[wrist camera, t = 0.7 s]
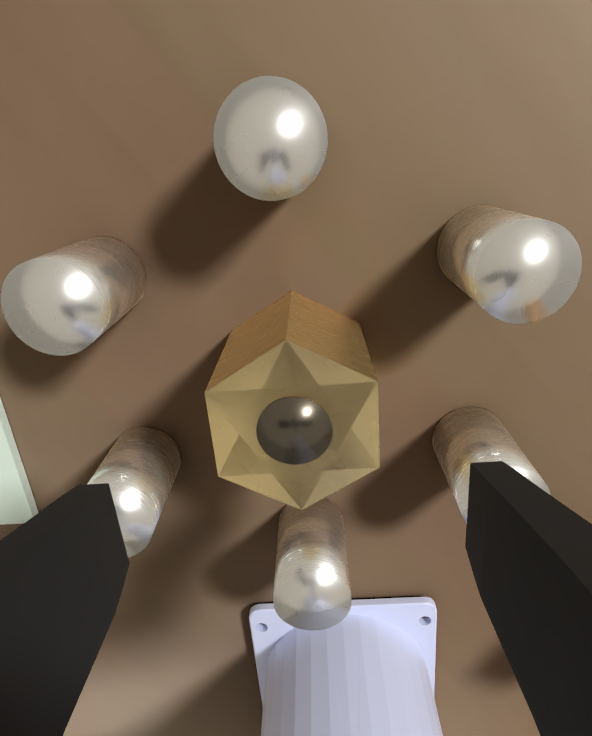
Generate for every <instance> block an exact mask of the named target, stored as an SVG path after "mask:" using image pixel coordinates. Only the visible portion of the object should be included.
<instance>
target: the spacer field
mask: <svg viewBox="0 0 592 736" xmlns="http://www.w3.org/2000/svg"><path fill="white" fill-rule="evenodd" d="M213 140H214V149H215V154H216V157H217V161H218V163H219V165H220V168H221V170H222V171H223V173H224V175H225V176H226V177H227V179H228V180H229V181H230V182H231V183H232V184H233V185H234V186H235V187H236V188H237V189H238V190H240V191H241V192H243V193H244V194H246V195H248V196H250V197H253V198H256V199H259V200H265V201H278V200H284V199H287V198H290V197H293V196H295V195H297V194H298V193H300V192H302V191H303V190H304V189H305V188H307V187H308V186H309V185H310V184H311V183H312V182H313V181H314V179H315V178H316V176H317V175H318V173H319V171H320V170H321V168H322V165H323V163H324V160H325V156H326V152H327V140H328V136H327V127H326V123H325V119H324V117H323V114H322V111H321V109H320V107H319V106H318V104H317V102H316V101H315V100H314V98H313V97H312V96H311V95H310V94H309V93H308V92H307V91H306V90H305V89H304V88H303V87H302V86H300V85H298V84H297V83H295V82H293V81H291V80H289V79H286V78H282V77H277V76H262V77H256V78H253V79H250V80H248V81H246V82H244V83H242V84H241V85H239V86H238V87H236V88H235V89H234V90H233V91H232V92H231V93H230V94H229V95H228V97H227V98H226V99H225V100H224V102H223V104H222V105H221V107H220V109H219V112H218V114H217V117H216V121H215V126H214V135H213ZM437 259H438V263H439V266H440V268H441V270H442V272H443V273H444V274H445V276H446V277H447V278H448V279H450V280H451V281H452V282H453V283H454V284H455V285H457V286H458V287H459V288H460V289H461V290H462V291H464V292H465V293H466V294H467V295H468V296H469V297H471V298H472V299H473V300H474V301H475V302H476V303H478V304H479V305H480V306H481V307H482V308H483V309H485V310H486V311H487V312H488V313H489V314H491V315H492V316H493V317H495V318H497V319H499V320H501V321H504V322H508V323H514V324H525V323H531V322H535V321H538V320H541V319H544V318H546V317H548V316H550V315H551V314H553V313H554V312H556V311H557V310H558V309H559V308H561V307H562V306H563V305H564V304H565V303H566V302H567V300H568V299H569V298H570V296H571V295H572V293H573V292H574V290H575V288H576V286H577V284H578V281H579V278H580V274H581V268H582V258H581V252H580V248H579V246H578V243H577V242H576V240H575V238H574V237H573V236H572V234H571V233H570V232H569V231H568V230H567V229H565V228H564V227H562V226H561V225H559V224H557V223H555V222H552V221H548V220H544V219H540V218H536V217H533V216H529V215H525V214H521V213H517V212H513V211H509V210H506V209H502V208H498V207H494V206H489V205H477V206H472V207H469V208H466V209H464V210H462V211H461V212H459V213H457V214H456V215H455V216H453V217H452V218H451V219H450V220H449V222H448V223H447V224H446V225H445V227H444V228H443V230H442V232H441V234H440V237H439V239H438V244H437ZM145 289H146V272H145V268H144V265H143V263H142V261H141V259H140V258H139V256H138V255H137V253H136V252H135V251H134V250H133V249H132V248H131V247H130V246H129V245H127V244H126V243H124V242H122V241H121V240H118V239H116V238H113V237H109V236H95V237H91V238H88V239H85V240H82V241H79V242H77V243H74V244H71V245H69V246H66V247H63V248H60V249H58V250H55V251H52V252H49V253H47V254H44V255H41V256H39V257H36V258H33V259H30V260H28V261H25V262H23V263H21V264H19V265H18V266H16V267H15V268H14V269H13V270H11V271H10V273H9V274H8V275H7V277H6V279H5V281H4V283H3V286H2V290H1V307H2V311H3V314H4V317H5V319H6V321H7V323H8V325H9V327H10V328H11V330H12V331H13V332H14V333H15V334H16V336H17V337H18V338H19V339H21V340H22V341H23V342H24V343H25V344H27V345H28V346H30V347H31V348H33V349H35V350H37V351H40V352H42V353H45V354H50V355H56V356H65V355H71V354H75V353H78V352H80V351H82V350H84V349H85V348H87V347H88V346H89V345H90V344H91V343H92V342H94V341H95V340H96V339H97V338H98V337H99V336H101V335H102V334H103V333H104V332H105V331H106V330H108V329H109V328H110V327H111V326H112V325H113V324H115V323H116V322H117V321H118V320H119V319H120V318H122V317H123V316H124V315H125V314H126V313H127V312H128V311H130V310H131V309H132V308H133V307H134V306H135V305H137V304H138V302H139V301H140V300H141V298H142V297H143V295H144V292H145ZM432 445H433V449H434V451H435V453H436V456H437V458H438V460H439V463H440V465H441V467H442V470H443V472H444V474H445V476H446V479H447V481H448V483H449V486H450V488H451V490H452V493H453V495H454V497H455V499H456V502H457V504H458V506H459V509H460V511H461V513H462V516H463V518H464V520H465V522H466V524H467V511H468V494H469V477H470V463H476V462H494V461H503V462H504V463H506V464H507V465H509V466H510V467H512V468H513V469H515V470H516V471H518V472H519V473H520V474H522V475H523V476H525V477H526V478H527V479H529V480H530V481H531V482H533V483H534V484H536V485H537V486H538V487H540V488H541V489H542V490H544V491H545V492H547V493H548V494H549V495H550V491H549V489H548V487H547V485H546V483H545V482H544V481H543V479H542V478H541V477H540V475H539V474H538V472H537V471H536V470H535V468H534V467H533V466H532V464H531V463H530V462H529V460H528V459H527V457H526V456H525V455H524V453H523V452H522V451H521V449H520V448H519V447H518V445H517V444H516V442H515V441H514V440H513V438H512V437H511V436H510V434H509V433H508V432H507V430H506V429H505V427H504V426H503V425H502V423H501V422H500V421H499V419H498V418H497V417H496V416H495V415H494V414H493V413H492V412H490V411H488V410H486V409H484V408H480V407H463V408H459V409H456V410H454V411H452V412H450V413H448V414H447V415H446V416H444V417H443V418H442V419H441V420H440V421H439V423H438V424H437V426H436V427H435V430H434V432H433V436H432ZM180 465H181V454H180V450H179V448H178V446H177V444H176V443H175V442H174V440H173V439H172V438H171V437H170V436H168V435H167V434H165V433H164V432H162V431H160V430H158V429H155V428H150V427H136V428H132V429H130V430H127V431H126V432H124V433H123V434H121V436H120V437H119V438H118V439H117V441H116V442H115V444H114V445H113V447H112V448H111V449H110V451H109V452H108V454H107V455H106V457H105V458H104V460H103V461H102V463H101V464H100V466H99V467H98V469H97V470H96V472H95V473H94V475H93V476H92V478H91V479H90V481H89V482H88V484H103V483H109V486H110V490H111V494H112V498H113V502H114V505H115V509H116V513H117V517H118V521H119V525H120V528H121V532H122V536H123V540H124V544H125V548H126V551H127V555H128V557H131V556H134V555H136V554H138V553H140V552H141V551H142V550H143V549H144V548H145V547H146V546H147V545H148V543H149V541H150V539H151V537H152V534H153V532H154V529H155V527H156V524H157V522H158V520H159V517H160V515H161V512H162V510H163V507H164V505H165V503H166V500H167V498H168V495H169V493H170V490H171V488H172V485H173V483H174V481H175V478H176V476H177V473H178V471H179V468H180ZM351 602H352V600H351V590H350V580H349V570H348V560H347V550H346V540H345V530H344V520H343V515H342V513H341V511H340V509H339V508H338V507H337V505H336V504H334V503H333V502H332V501H330V500H328V499H326V498H323V499H321V500H319V501H318V502H316V503H314V504H312V505H310V506H308V507H307V508H305V509H303V510H300V509H298V508H295V507H293V506H290V505H288V504H287V505H286V506H285V507H284V508H283V510H282V512H281V514H280V518H279V529H278V542H277V555H276V568H275V581H274V594H273V605H274V609H275V611H276V613H277V614H278V616H279V617H280V618H281V619H282V620H283V621H284V622H286V623H287V624H289V625H291V626H293V627H295V628H299V629H303V630H323V629H327V628H330V627H332V626H334V625H336V624H338V623H339V622H341V621H342V620H343V619H344V618H345V617H346V616H347V614H348V613H349V611H350V608H351Z"/></svg>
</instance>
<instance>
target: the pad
mask: <svg viewBox="0 0 592 736" xmlns="http://www.w3.org/2000/svg"><path fill="white" fill-rule="evenodd" d="M38 513H39V512H38V509H37V506H36V503H35V500H34V497H33V494H32V491H31V488H30V485H29V482H28V479H27V476H26V473H25V470H24V467H23V464H22V461H21V458H20V455H19V452H18V449H17V446H16V443H15V440H14V437H13V434H12V431H11V428H10V425H9V422H8V419H7V416H6V413H5V410H4V407H3V404H2V401H1V398H0V525H3V524H22V523H25V522H27V521H28V520H29V519H31V518H32V517H34V516H35V515H36V514H38Z"/></svg>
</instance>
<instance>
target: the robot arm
mask: <svg viewBox="0 0 592 736" xmlns="http://www.w3.org/2000/svg"><path fill="white" fill-rule="evenodd" d="M466 550H467V553H468V557H469V560H470V564H471V567H472V571H473V574H474V577H475V580H476V584H477V587H478V590H479V593H480V596H481V598H482V601H483V603H484V606H485V608H486V610H487V613H488V615H489V617H490V619H491V622H492V624H493V626H494V629H495V631H496V633H497V636H498V638H499V640H500V642H501V645H502V647H503V649H504V652H505V654H506V656H507V658H508V661H509V663H510V665H511V667H512V670H513V672H514V674H515V676H516V679H517V681H518V683H519V686H520V688H521V690H522V692H523V695H524V697H525V699H526V701H527V704H528V706H529V708H530V710H531V713H532V715H533V718H534V720H535V723H536V725H537V728H538V730H539V733H540V735H541V736H592V524H591V523H589V522H588V521H586V520H585V519H583V518H582V517H580V516H579V515H578V514H576V513H575V512H573V511H572V510H570V509H569V508H568V507H566V506H565V505H563V504H562V503H561V502H559V501H558V500H556V499H555V498H554V497H552V496H551V495H549V494H548V493H547V492H545V491H544V490H542V489H541V488H540V487H538V486H537V485H536V484H534V483H533V482H531V481H530V480H529V479H527V478H526V477H525V476H523V475H522V474H520V473H519V472H518V471H516V470H515V469H513V468H512V467H510V466H509V465H507V464H506V463H504V462H503V461H494V462H476V463H470V477H469V494H468V511H467V528H466ZM128 566H129V559H128V555H127V551H126V548H125V544H124V540H123V536H122V532H121V528H120V525H119V521H118V517H117V513H116V509H115V505H114V502H113V498H112V494H111V490H110V486H109V483H103V484H86V485H78V486H77V487H75V488H73V489H72V490H70V491H69V492H67V493H66V494H64V495H63V496H61V497H60V498H58V499H57V500H56V501H54V502H53V503H51V504H50V505H49V506H47V507H46V508H44V509H43V510H42V511H40V512H39V513H38V514H36V515H35V516H34V517H32V518H31V519H29V520H28V521H27V522H25V523H24V524H23V525H21V526H20V527H18V528H17V529H16V530H14V531H13V532H12V533H10V534H9V535H7V536H6V537H5V538H3V539H2V540H1V541H0V736H63V733H64V731H65V728H66V726H67V724H68V722H69V719H70V717H71V715H72V712H73V710H74V708H75V705H76V703H77V701H78V698H79V696H80V694H81V691H82V689H83V687H84V685H85V682H86V680H87V678H88V675H89V673H90V671H91V668H92V666H93V664H94V661H95V659H96V657H97V654H98V652H99V650H100V647H101V645H102V643H103V640H104V638H105V636H106V633H107V631H108V629H109V626H110V624H111V621H112V619H113V616H114V614H115V612H116V608H117V605H118V602H119V598H120V595H121V592H122V588H123V585H124V581H125V577H126V573H127V570H128ZM424 616H426V617H424ZM421 617H424V618H421ZM249 622H250V629H251V635H252V642H253V648H254V654H255V661H256V667H257V674H258V680H259V686H260V693H261V699H262V706H263V714H262V727H261V736H443V734H442V730H441V726H440V722H439V717H438V713H437V709H436V704H435V700H434V683H435V652H436V622H437V609H436V605H435V602H434V601H433V600H432V599H431V598H429V597H405V598H383V599H360V600H352V602H351V608H350V611H349V613H348V614H347V616H346V617H345V618H344V619H343V620H342V621H341V622H339V623H338V624H336V625H334V626H332V627H330V628H327V629H323V630H303V629H299V628H295V627H293V626H291V625H289V624H287V623H286V622H284V621H283V620H282V619H281V618H280V617H279V616H278V614H277V613H276V611H275V609H274V605H273V603H269V604H257V605H254V606H253V607H252V608H251V609H250V614H249ZM260 623H263V624H260Z"/></svg>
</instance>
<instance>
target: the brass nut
mask: <svg viewBox="0 0 592 736" xmlns="http://www.w3.org/2000/svg"><path fill="white" fill-rule="evenodd" d="M205 399H206V405H207V411H208V417H209V423H210V429H211V436H212V442H213V448H214V454H215V460H216V466H217V472H218V477H221V478H223V479H226V480H228V481H231V482H233V483H236V484H238V485H240V486H243V487H245V488H248V489H250V490H253V491H255V492H258V493H260V494H263V495H265V496H268V497H270V498H273V499H275V500H278V501H280V502H283V503H285V504H288V505H290V506H293V507H295V508H298V509H300V510H303V509H305V508H307V507H308V506H310V505H312V504H314V503H316V502H318V501H319V500H321V499H323V498H325V497H327V496H328V495H330V494H332V493H334V492H336V491H338V490H339V489H341V488H343V487H345V486H347V485H348V484H350V483H352V482H354V481H356V480H358V479H359V478H361V477H363V476H365V475H367V474H368V473H370V472H372V471H374V470H376V469H378V468H379V467H380V462H379V415H378V381H377V377H376V374H375V371H374V368H373V365H372V362H371V358H370V355H369V352H368V349H367V346H366V343H365V340H364V336H363V333H362V330H361V327H360V324H359V322H358V321H356V320H353V319H351V318H349V317H347V316H345V315H343V314H341V313H339V312H336V311H334V310H332V309H330V308H328V307H326V306H324V305H322V304H319V303H317V302H315V301H313V300H311V299H309V298H307V297H305V296H302V295H300V294H298V293H296V292H294V291H290V292H289V293H287V294H286V295H284V296H283V297H281V298H280V299H278V300H277V301H275V302H274V303H272V304H271V305H269V306H268V307H266V308H265V309H263V310H262V311H260V312H259V313H257V314H256V315H254V316H253V317H252V318H250V319H249V320H247V321H246V322H244V323H243V324H241V325H240V326H238V327H237V328H235V329H234V330H232V331H231V333H230V335H229V338H228V340H227V342H226V344H225V347H224V349H223V351H222V354H221V356H220V358H219V361H218V363H217V365H216V367H215V370H214V372H213V374H212V377H211V379H210V381H209V383H208V386H207V388H206V390H205Z"/></svg>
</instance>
